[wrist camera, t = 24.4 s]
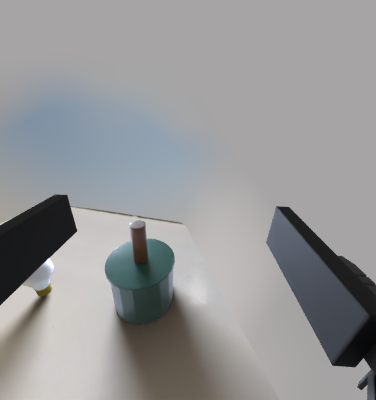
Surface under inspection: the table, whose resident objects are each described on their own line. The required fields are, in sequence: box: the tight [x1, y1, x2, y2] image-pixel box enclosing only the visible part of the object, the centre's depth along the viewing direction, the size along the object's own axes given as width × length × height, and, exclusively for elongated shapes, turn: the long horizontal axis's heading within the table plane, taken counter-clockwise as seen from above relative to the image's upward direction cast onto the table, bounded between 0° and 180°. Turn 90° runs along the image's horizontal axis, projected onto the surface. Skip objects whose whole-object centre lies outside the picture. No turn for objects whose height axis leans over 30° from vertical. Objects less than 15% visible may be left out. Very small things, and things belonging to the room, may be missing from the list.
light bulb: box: [22, 259, 53, 296], centre depth 39 cm, size 6×6×10 cm
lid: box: [105, 220, 175, 291], centre depth 35 cm, size 14×14×10 cm
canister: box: [111, 269, 173, 325], centre depth 39 cm, size 13×13×10 cm
